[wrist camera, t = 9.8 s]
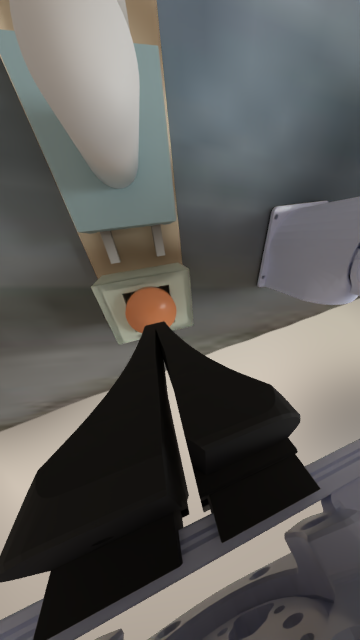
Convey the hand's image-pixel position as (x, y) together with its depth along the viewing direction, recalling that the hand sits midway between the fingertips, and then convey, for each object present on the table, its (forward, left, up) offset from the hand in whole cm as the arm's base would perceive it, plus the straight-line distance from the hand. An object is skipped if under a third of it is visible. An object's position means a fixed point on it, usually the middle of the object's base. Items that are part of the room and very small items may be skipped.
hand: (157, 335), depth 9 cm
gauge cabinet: (0, 0, -9) cm, 9 cm away
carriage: (+10, 0, -8) cm, 13 cm away
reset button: (0, 0, -8) cm, 8 cm away
